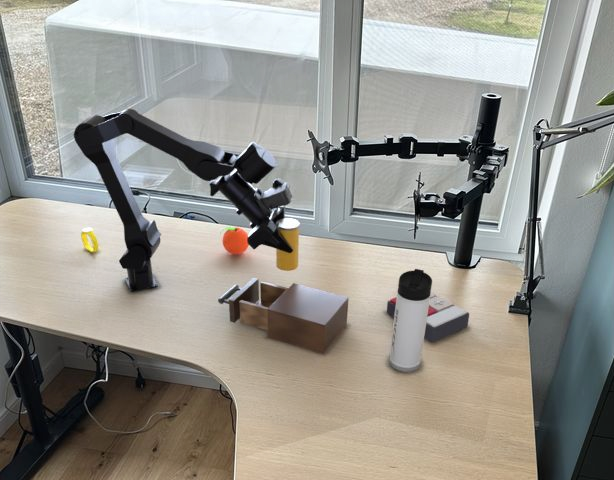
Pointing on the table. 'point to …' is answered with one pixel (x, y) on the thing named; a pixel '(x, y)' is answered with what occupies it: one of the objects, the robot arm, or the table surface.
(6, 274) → the table surface
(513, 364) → the table surface
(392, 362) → the travel mug
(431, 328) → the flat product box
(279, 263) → the tin
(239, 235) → the clementine
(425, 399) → the table surface
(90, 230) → the watch
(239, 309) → the drawer
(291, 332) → the cabinet
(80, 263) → the table surface
